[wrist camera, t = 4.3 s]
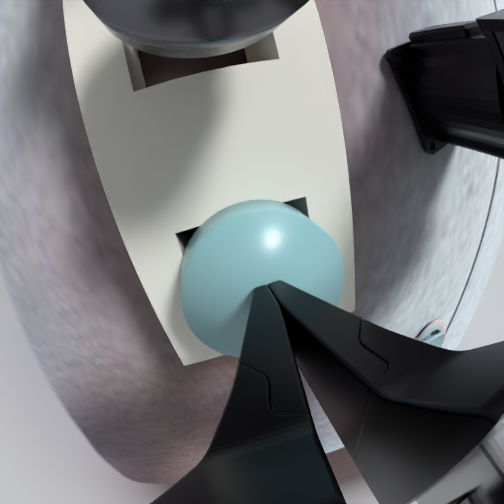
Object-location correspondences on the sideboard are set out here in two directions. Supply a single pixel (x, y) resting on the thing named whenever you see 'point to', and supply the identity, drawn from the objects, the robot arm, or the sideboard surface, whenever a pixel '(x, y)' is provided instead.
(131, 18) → the pot dial
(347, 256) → the knob housing
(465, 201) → the sideboard surface
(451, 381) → the robot arm
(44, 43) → the sideboard surface
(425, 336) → the pacifier
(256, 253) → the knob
